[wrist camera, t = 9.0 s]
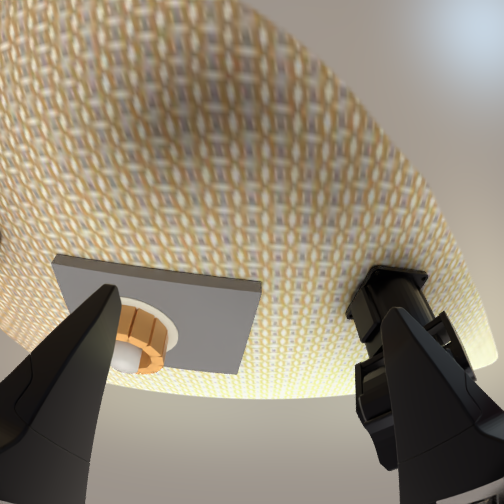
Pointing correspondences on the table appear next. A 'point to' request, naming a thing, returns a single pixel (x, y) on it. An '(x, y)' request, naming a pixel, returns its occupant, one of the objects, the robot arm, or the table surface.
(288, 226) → the table surface
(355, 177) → the table surface
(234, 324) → the post board
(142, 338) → the orange ring
